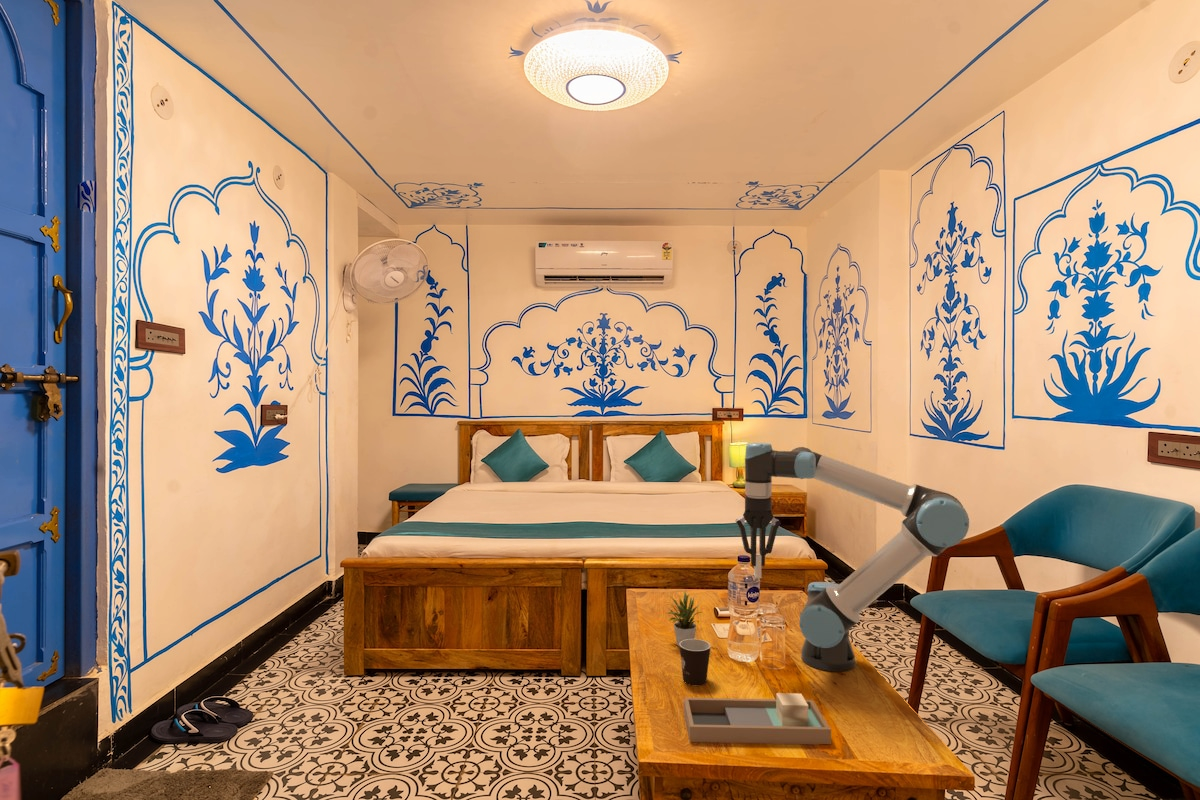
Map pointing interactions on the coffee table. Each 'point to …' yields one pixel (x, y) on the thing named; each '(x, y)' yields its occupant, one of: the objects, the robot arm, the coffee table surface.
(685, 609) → the house plant
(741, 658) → the coffee table surface
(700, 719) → the track
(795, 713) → the ash block
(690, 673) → the coffee mug
